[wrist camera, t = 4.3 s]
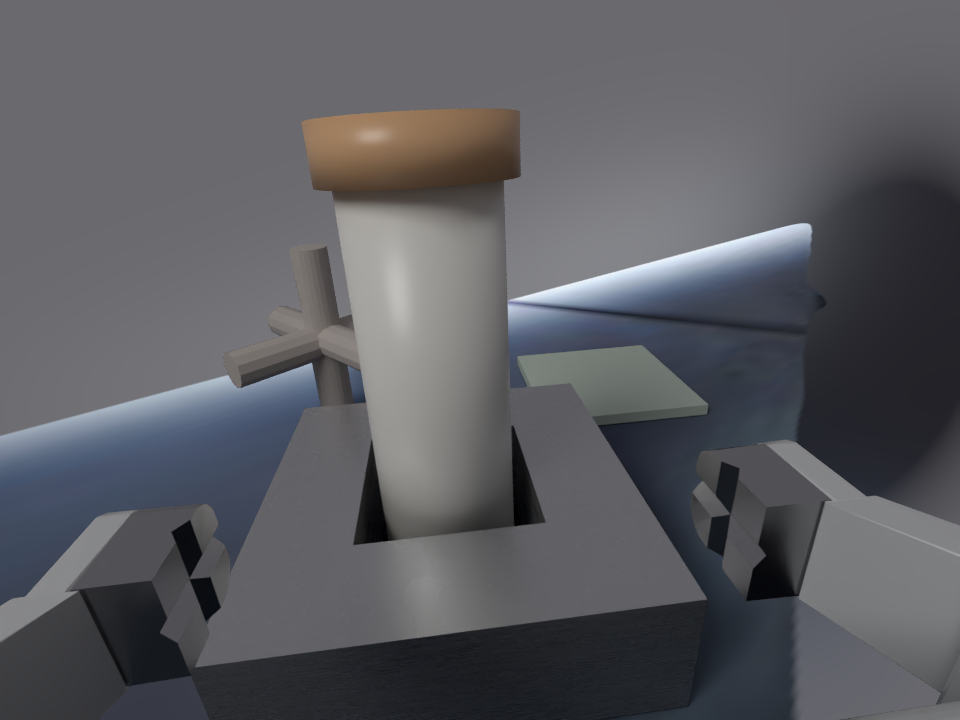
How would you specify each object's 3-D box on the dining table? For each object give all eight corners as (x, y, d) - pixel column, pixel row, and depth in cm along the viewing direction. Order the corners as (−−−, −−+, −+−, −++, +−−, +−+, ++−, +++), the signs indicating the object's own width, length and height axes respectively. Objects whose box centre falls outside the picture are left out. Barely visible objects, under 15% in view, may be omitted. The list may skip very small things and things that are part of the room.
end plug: (375, 639, 16) (274, 117, 10) (386, 522, 21) (323, 127, 15) (542, 617, 16) (541, 103, 10) (514, 508, 21) (502, 118, 15)
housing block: (232, 774, 13) (187, 668, 11) (321, 482, 24) (305, 408, 22) (688, 706, 13) (707, 599, 12) (568, 455, 24) (570, 383, 23)
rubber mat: (547, 430, 27) (547, 420, 26) (517, 364, 35) (517, 356, 35) (707, 414, 27) (708, 404, 27) (641, 353, 36) (641, 345, 35)
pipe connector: (362, 369, 35) (340, 226, 32) (460, 412, 29) (447, 239, 25) (219, 426, 29) (167, 255, 25) (304, 498, 23) (252, 282, 19)
